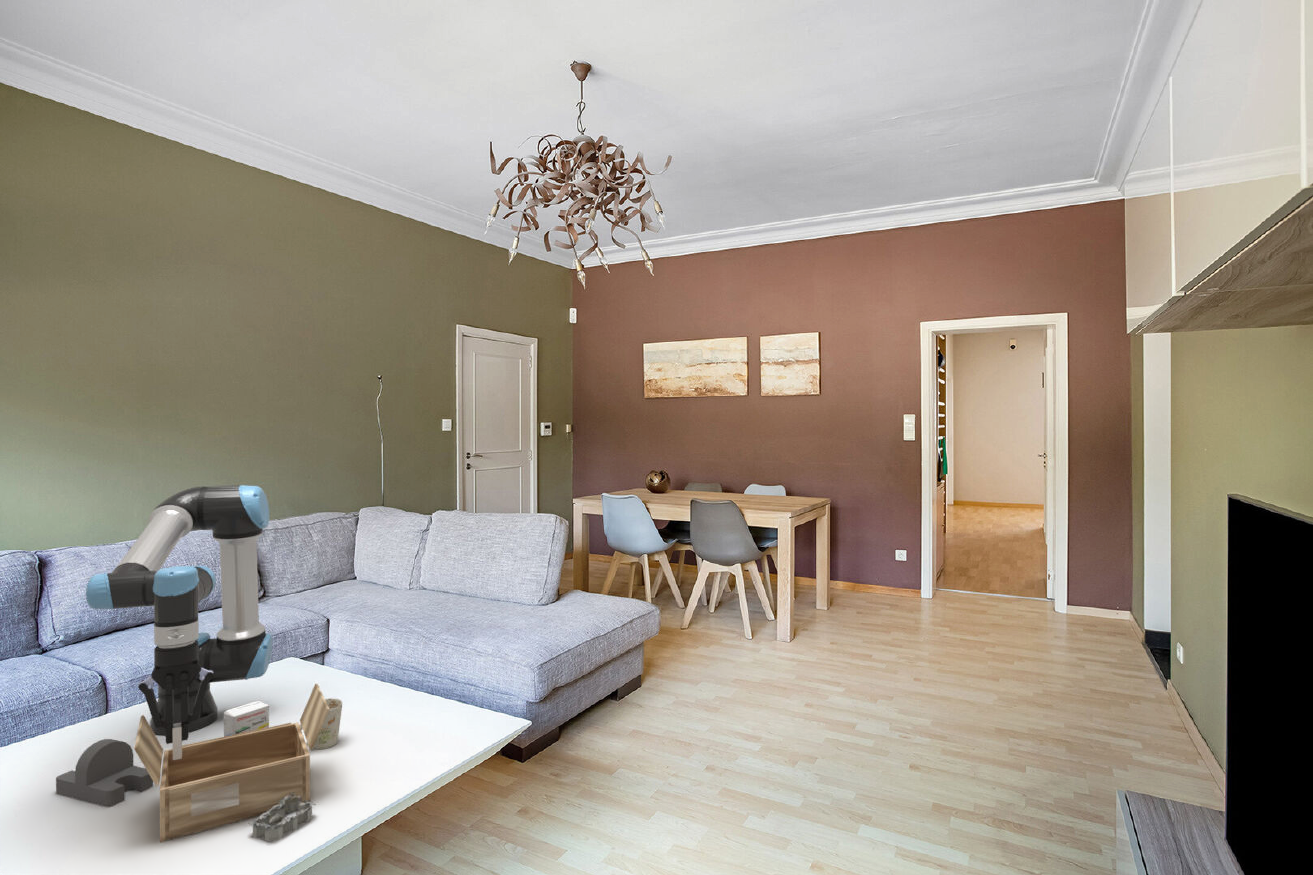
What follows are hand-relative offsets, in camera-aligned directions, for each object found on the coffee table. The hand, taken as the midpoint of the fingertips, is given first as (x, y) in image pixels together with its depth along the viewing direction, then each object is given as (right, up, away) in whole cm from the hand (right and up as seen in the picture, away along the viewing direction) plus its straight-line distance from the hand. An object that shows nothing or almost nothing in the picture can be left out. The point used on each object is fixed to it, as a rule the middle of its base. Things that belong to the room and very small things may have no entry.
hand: (177, 756), depth 142 cm
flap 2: (+21, +3, +14) cm, 25 cm away
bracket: (-23, -12, +10) cm, 28 cm away
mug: (+14, -12, +30) cm, 35 cm away
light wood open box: (+9, -12, +6) cm, 16 cm away
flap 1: (-4, +3, -2) cm, 5 cm away
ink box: (-1, -12, +26) cm, 28 cm away
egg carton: (+24, -12, -4) cm, 27 cm away
